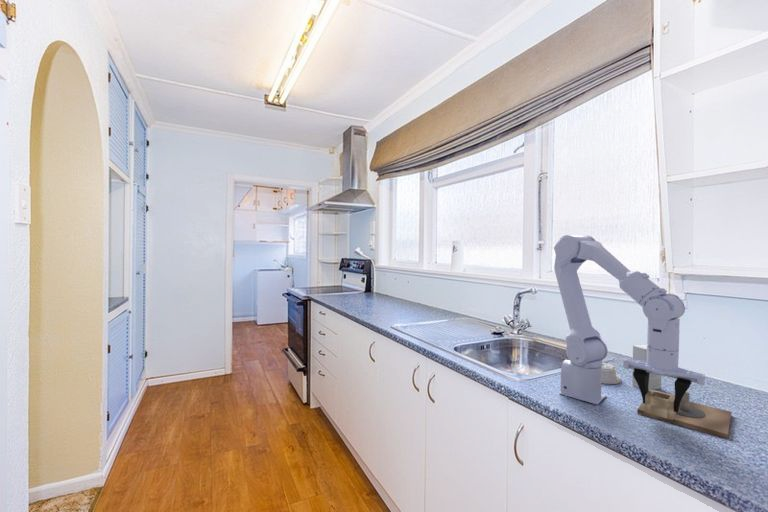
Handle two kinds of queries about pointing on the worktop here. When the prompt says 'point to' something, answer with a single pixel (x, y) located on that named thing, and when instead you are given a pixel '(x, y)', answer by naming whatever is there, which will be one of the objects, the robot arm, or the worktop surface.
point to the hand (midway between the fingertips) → (660, 406)
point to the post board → (698, 417)
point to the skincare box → (641, 355)
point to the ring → (660, 404)
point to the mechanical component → (609, 374)
